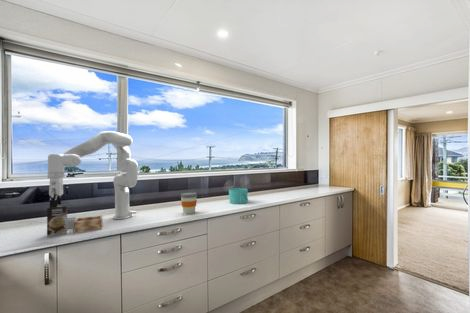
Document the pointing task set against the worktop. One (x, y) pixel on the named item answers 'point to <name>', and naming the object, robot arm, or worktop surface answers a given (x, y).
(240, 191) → the basket
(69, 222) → the small grey socket
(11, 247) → the worktop surface
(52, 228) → the coffee box
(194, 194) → the reusable coffee cup
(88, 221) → the wood socket
